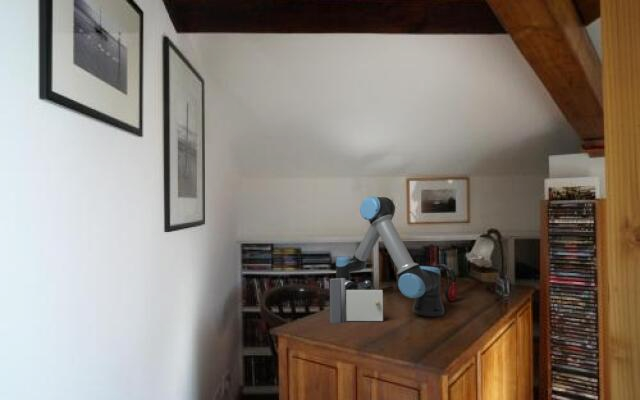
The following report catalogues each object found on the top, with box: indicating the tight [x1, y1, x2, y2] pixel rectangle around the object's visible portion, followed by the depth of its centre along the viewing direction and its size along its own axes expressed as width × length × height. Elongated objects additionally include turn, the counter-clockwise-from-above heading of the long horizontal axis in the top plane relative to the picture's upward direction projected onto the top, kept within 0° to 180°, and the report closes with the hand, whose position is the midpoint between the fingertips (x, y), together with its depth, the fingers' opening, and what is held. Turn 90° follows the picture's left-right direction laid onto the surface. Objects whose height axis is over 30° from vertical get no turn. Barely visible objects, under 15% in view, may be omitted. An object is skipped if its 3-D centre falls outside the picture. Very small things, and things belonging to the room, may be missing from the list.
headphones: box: [432, 263, 459, 302], centre depth 211 cm, size 18×10×20 cm, turn 38°
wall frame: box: [329, 277, 347, 325], centre depth 170 cm, size 7×3×20 cm, turn 110°
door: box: [345, 289, 384, 322], centre depth 170 cm, size 17×3×14 cm, turn 89°
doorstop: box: [357, 279, 376, 290], centre depth 178 cm, size 9×9×18 cm
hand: (370, 299), depth 173 cm, fingers open, 6 cm apart
